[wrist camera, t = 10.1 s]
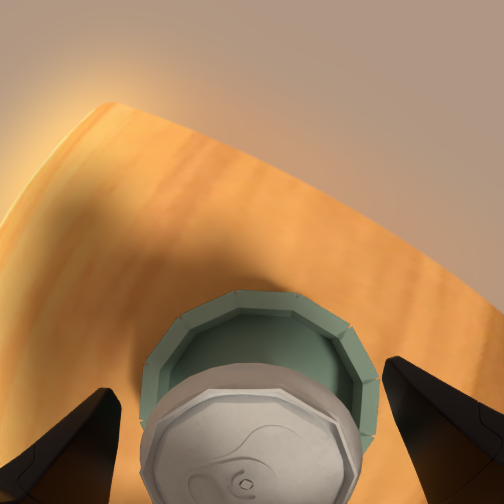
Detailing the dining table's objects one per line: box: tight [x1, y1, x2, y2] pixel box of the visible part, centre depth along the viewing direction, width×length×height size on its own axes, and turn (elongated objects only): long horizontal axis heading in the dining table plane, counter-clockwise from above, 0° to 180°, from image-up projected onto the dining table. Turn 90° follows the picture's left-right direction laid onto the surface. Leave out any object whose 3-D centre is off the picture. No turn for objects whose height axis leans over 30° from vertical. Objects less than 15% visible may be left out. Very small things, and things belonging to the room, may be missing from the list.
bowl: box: [139, 290, 380, 456], centre depth 14 cm, size 13×13×3 cm
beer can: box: [140, 363, 362, 504], centre depth 9 cm, size 5×5×12 cm
